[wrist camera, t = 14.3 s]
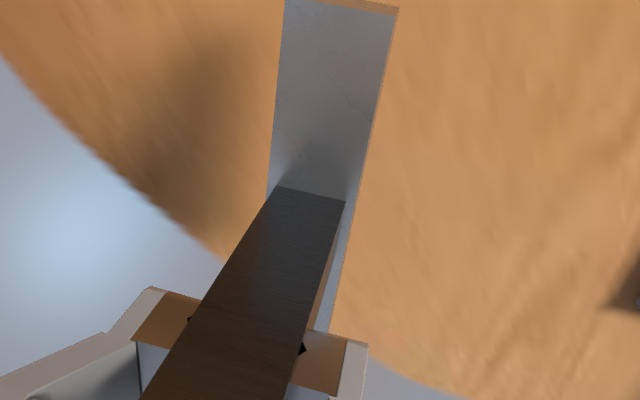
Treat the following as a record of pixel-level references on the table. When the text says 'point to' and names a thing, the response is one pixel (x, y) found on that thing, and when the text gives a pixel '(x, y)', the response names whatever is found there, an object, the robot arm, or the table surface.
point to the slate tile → (638, 302)
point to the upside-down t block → (291, 211)
